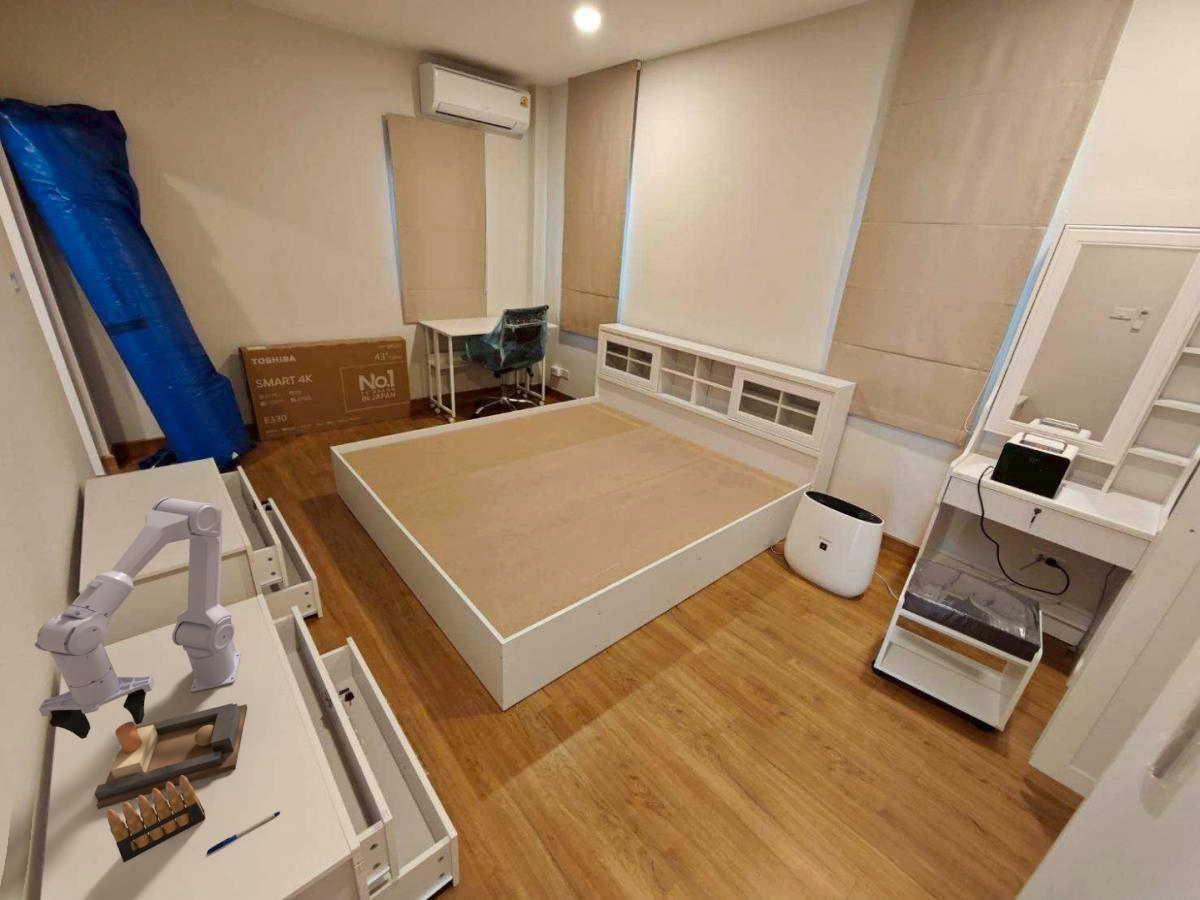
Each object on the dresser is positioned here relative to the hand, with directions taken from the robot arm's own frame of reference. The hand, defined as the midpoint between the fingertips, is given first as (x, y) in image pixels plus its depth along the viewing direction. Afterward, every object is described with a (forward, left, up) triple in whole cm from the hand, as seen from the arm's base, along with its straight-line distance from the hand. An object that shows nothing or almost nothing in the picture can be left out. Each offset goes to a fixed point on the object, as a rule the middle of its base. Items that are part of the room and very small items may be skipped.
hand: (113, 726), depth 91 cm
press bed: (+2, +8, -10) cm, 13 cm away
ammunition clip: (+18, +10, -10) cm, 23 cm away
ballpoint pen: (+22, +22, -10) cm, 32 cm away
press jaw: (+2, +2, -8) cm, 8 cm away
